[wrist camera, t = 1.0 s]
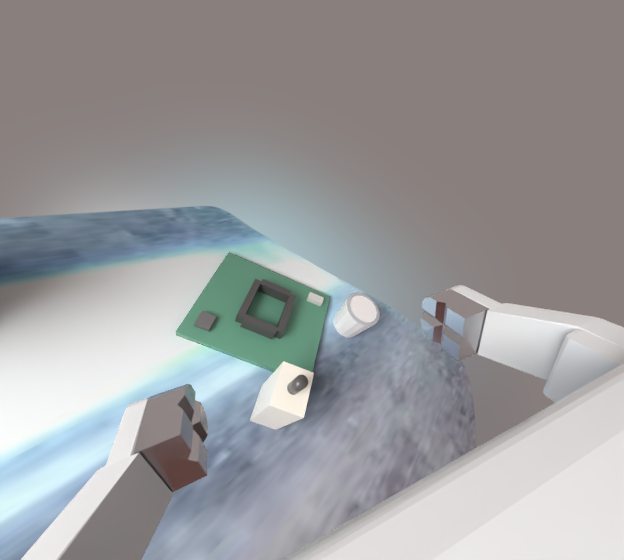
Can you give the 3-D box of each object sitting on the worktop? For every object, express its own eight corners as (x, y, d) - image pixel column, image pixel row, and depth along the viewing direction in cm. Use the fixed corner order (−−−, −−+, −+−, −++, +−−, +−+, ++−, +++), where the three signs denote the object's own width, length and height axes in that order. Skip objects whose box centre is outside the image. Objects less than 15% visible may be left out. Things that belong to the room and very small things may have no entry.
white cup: (366, 337, 51) (386, 323, 46) (337, 343, 48) (355, 328, 43) (353, 307, 54) (370, 290, 49) (326, 311, 51) (341, 293, 46)
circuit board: (176, 334, 38) (175, 324, 36) (228, 256, 50) (230, 243, 47) (307, 384, 41) (315, 378, 39) (327, 299, 53) (335, 290, 50)
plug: (249, 420, 36) (276, 399, 24) (262, 385, 39) (291, 352, 28) (275, 429, 36) (313, 413, 25) (286, 394, 39) (323, 365, 28)
